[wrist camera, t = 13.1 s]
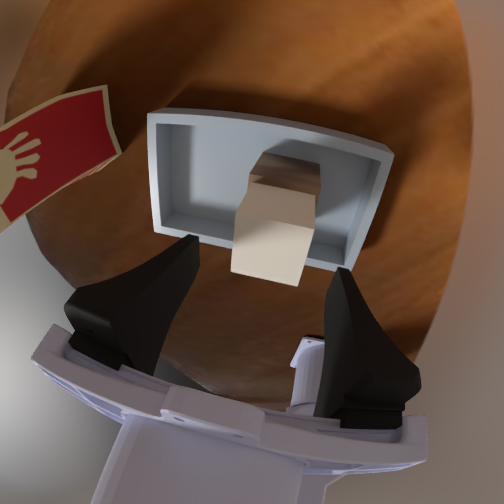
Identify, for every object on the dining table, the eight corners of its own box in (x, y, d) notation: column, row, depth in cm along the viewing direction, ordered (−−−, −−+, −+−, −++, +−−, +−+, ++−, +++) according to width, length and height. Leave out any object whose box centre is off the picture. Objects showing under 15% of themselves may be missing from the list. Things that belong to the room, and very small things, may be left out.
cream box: (315, 195, 16) (314, 229, 13) (301, 246, 19) (297, 286, 16) (252, 182, 17) (235, 212, 13) (246, 234, 19) (230, 271, 16)
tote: (385, 144, 18) (394, 154, 16) (347, 254, 25) (349, 274, 22) (164, 107, 19) (147, 113, 17) (167, 216, 26) (154, 231, 24)
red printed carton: (52, 108, 20) (-94, 197, 5) (107, 80, 18) (-96, 174, 3) (71, 177, 26) (-53, 289, 10) (126, 165, 24) (-33, 311, 8)
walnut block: (319, 163, 20) (321, 189, 16) (305, 222, 23) (301, 257, 19) (262, 151, 20) (249, 173, 16) (254, 211, 24) (240, 244, 20)
